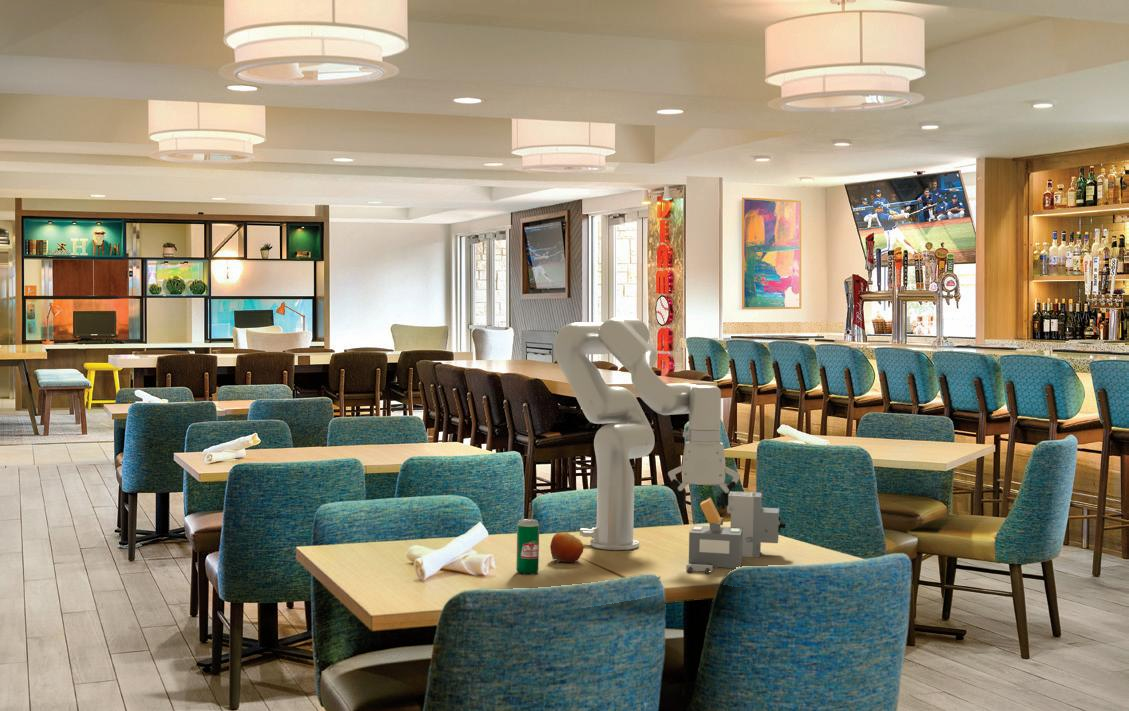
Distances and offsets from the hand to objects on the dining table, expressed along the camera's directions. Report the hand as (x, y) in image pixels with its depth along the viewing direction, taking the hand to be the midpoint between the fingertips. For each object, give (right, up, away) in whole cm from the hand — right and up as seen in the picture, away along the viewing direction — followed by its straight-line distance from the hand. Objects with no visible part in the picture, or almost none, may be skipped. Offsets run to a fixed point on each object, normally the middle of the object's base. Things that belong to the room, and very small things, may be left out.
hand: (703, 507), depth 282 cm
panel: (+3, -13, 0) cm, 14 cm away
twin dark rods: (-2, -14, -8) cm, 16 cm away
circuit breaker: (+15, -13, +12) cm, 23 cm away
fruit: (-33, -13, -1) cm, 36 cm away
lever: (+3, -4, 0) cm, 5 cm away
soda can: (-42, -13, -14) cm, 46 cm away
